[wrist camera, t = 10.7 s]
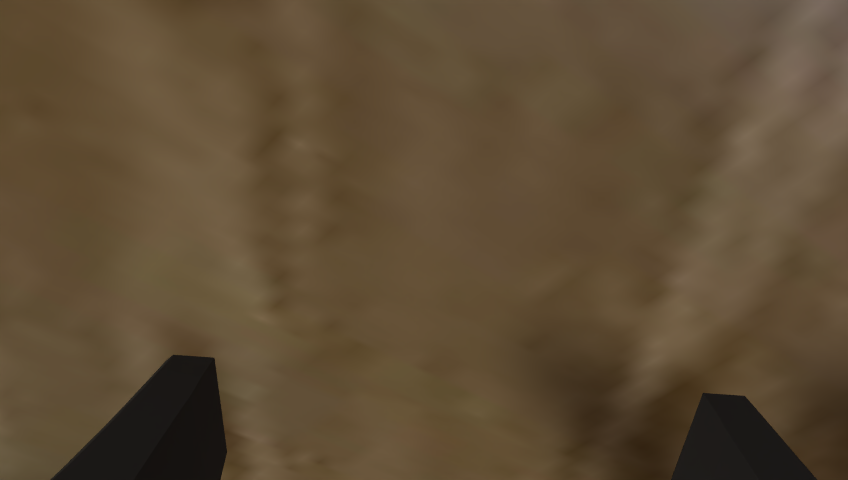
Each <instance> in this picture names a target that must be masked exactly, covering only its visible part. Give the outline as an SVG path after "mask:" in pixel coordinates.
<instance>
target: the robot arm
mask: <svg viewBox="0 0 848 480" xmlns="http://www.w3.org/2000/svg"><path fill="white" fill-rule="evenodd" d="M226 454H227V448H226V441H225V434H224V426H223V419H222V411H221V404H220V396H219V389H218V381H217V374H216V367H215V359H214V358H210V357H196V356H182V355H173V356H171V357H170V358H169V359H168V360H166V361H165V363H164V364H163V365H162V366H161V367H160V368H159V369H158V370H157V371H156V372H155V373H154V374H153V376H152V377H151V378H150V379H149V380H148V381H147V382H146V383H145V384H144V385H143V386H142V387H141V388H140V390H139V391H138V392H137V393H136V394H135V395H134V396H133V397H132V398H131V399H130V400H129V401H128V402H127V403H126V405H125V406H124V407H123V408H122V409H121V410H120V411H119V412H118V413H117V414H116V415H115V416H114V417H113V418H112V419H111V420H110V421H109V422H108V423H107V424H106V425H105V426H104V427H103V428H102V429H101V430H100V431H99V432H98V433H97V434H96V435H95V436H94V437H93V438H92V439H91V440H90V441H89V442H88V443H87V444H86V445H85V446H84V447H83V448H82V449H81V450H80V451H79V452H78V453H77V454H76V455H75V456H74V457H73V458H72V459H71V460H70V461H69V462H68V463H67V464H66V465H65V466H64V467H63V468H62V469H61V470H60V471H59V472H58V473H57V474H56V475H55V476H54V477H53V478H52V479H51V480H220V479H221V475H222V471H223V466H224V462H225V458H226ZM671 480H817V479H816V478H815V477H814V476H813V474H812V473H811V472H810V471H809V470H808V469H807V467H806V466H805V465H804V464H803V463H802V462H801V461H800V459H799V458H798V457H797V456H796V455H795V454H794V452H793V451H792V450H791V449H790V448H789V447H788V446H787V444H786V443H785V442H784V441H783V440H782V439H781V437H780V436H779V435H778V434H777V433H776V432H775V430H774V429H773V428H772V427H771V426H770V424H769V423H768V422H767V421H766V420H765V419H764V418H763V416H762V415H761V414H760V413H759V412H758V411H757V409H756V408H755V407H754V406H753V405H752V404H751V403H750V401H749V400H748V399H747V398H746V397H745V396H737V395H723V394H709V393H703V395H702V397H701V400H700V403H699V405H698V408H697V411H696V414H695V416H694V419H693V422H692V424H691V427H690V430H689V433H688V435H687V438H686V441H685V443H684V446H683V449H682V452H681V454H680V457H679V460H678V462H677V465H676V468H675V471H674V473H673V476H672V479H671Z"/></svg>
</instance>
